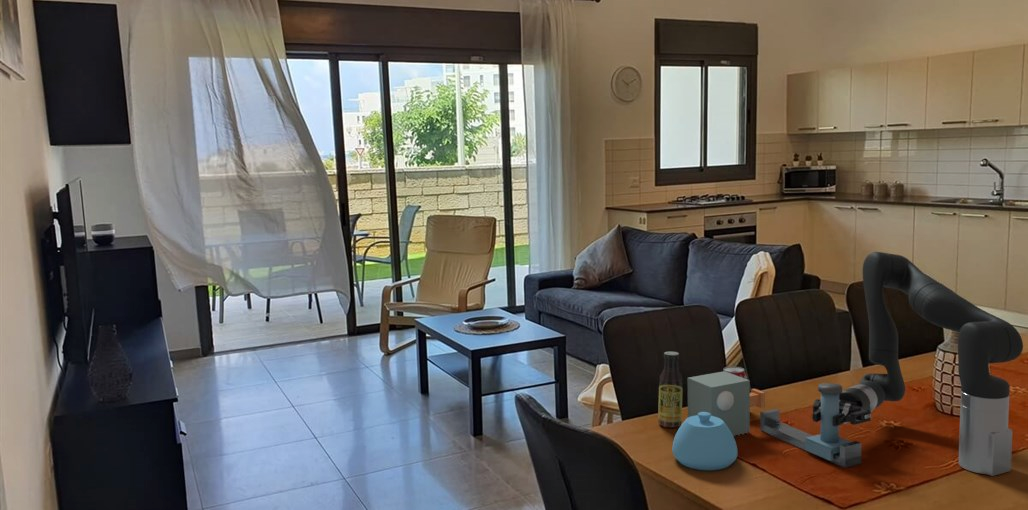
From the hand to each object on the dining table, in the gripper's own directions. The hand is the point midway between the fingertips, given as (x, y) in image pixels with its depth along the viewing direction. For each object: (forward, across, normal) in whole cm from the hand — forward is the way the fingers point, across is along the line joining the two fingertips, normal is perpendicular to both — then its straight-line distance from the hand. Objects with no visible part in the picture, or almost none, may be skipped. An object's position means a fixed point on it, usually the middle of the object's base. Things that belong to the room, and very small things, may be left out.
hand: (824, 420), depth 182 cm
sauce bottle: (+4, -41, +10) cm, 42 cm away
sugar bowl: (+19, -20, +10) cm, 29 cm away
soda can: (-17, -34, +10) cm, 39 cm away
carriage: (-3, 0, +10) cm, 10 cm away
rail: (-5, -7, +10) cm, 13 cm away
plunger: (-6, -23, +4) cm, 24 cm away
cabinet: (0, -28, +10) cm, 30 cm away
